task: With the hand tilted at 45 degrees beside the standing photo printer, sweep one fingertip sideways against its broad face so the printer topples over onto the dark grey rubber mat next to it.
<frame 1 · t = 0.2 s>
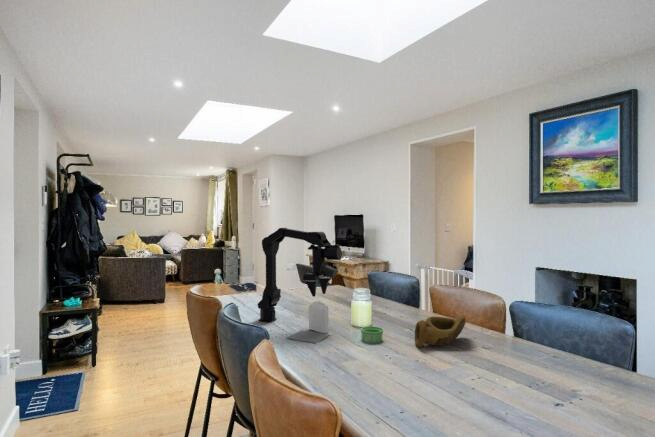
hand: (319, 295, 176), 14 cm above the table, tool pointing down, fingers open, 9 cm apart
brown looped sculpture: (443, 343, 154), on the table
mat: (308, 337, 161), on the table
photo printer: (318, 331, 171), on the table
ramekin: (372, 340, 158), on the table
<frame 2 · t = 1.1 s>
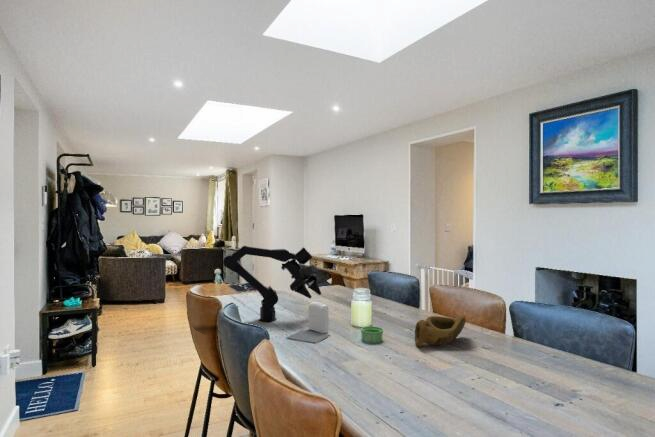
hand: (315, 296, 184), 12 cm above the table, tool tilted 45°, fingers open, 9 cm apart
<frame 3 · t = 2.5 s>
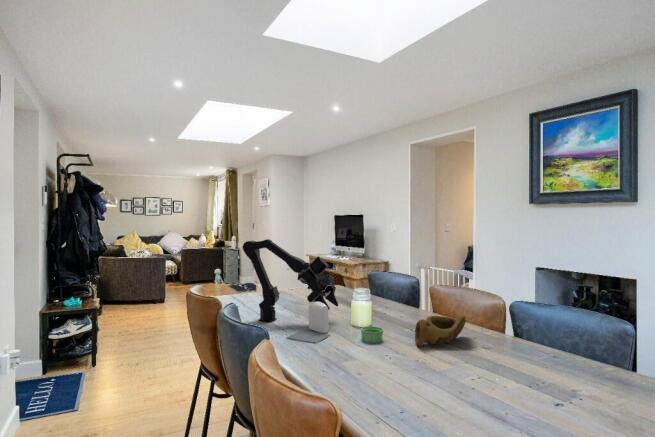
hand: (333, 307, 179), 8 cm above the table, tool tilted 45°, fingers open, 8 cm apart
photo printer: (318, 331, 171), on the table, touching gripper
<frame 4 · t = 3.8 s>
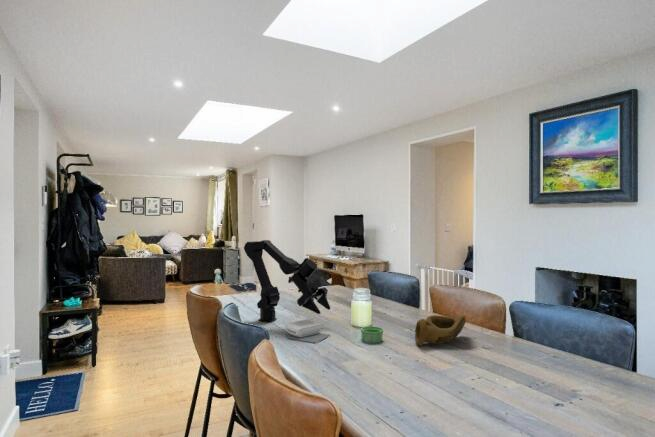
hand: (324, 311, 172), 8 cm above the table, tool tilted 45°, fingers open, 9 cm apart
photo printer: (314, 325, 169), point 3 cm above the table, touching mat
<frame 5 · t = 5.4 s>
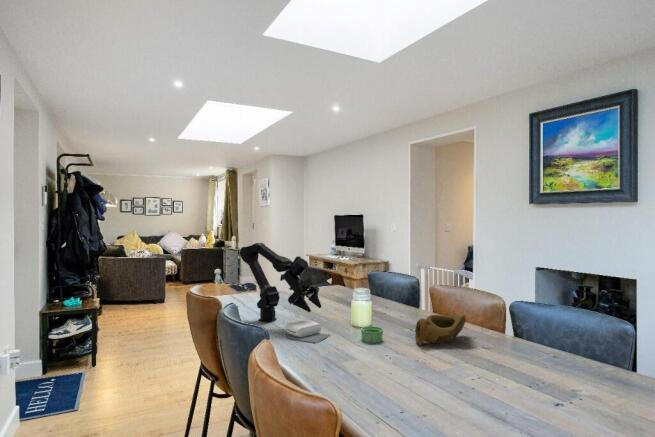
hand: (315, 309, 173), 9 cm above the table, tool tilted 45°, fingers open, 9 cm apart
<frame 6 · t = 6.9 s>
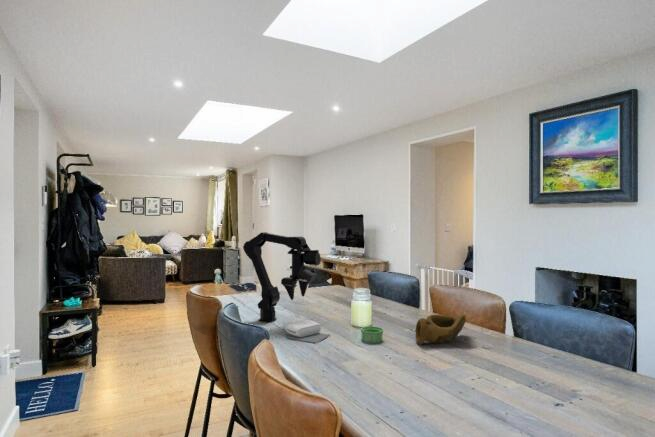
hand: (297, 298, 182), 12 cm above the table, tool pointing down, fingers open, 9 cm apart
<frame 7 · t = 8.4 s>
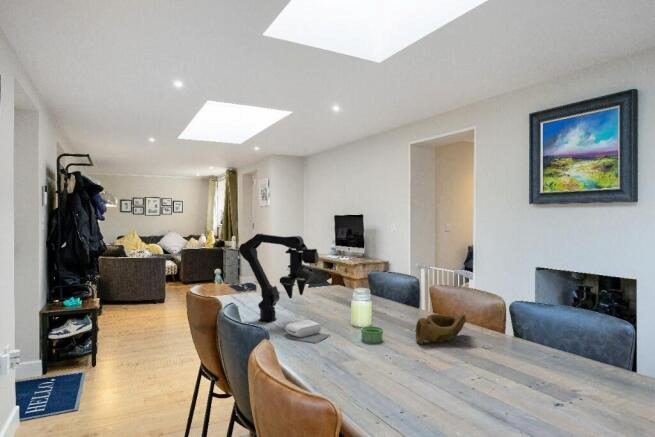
hand: (295, 296, 184), 12 cm above the table, tool pointing down, fingers open, 9 cm apart
at the end: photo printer tilted 91°; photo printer inside the target area (1.8 cm from its centre), point 2.6 cm above the table; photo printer touching mat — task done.
